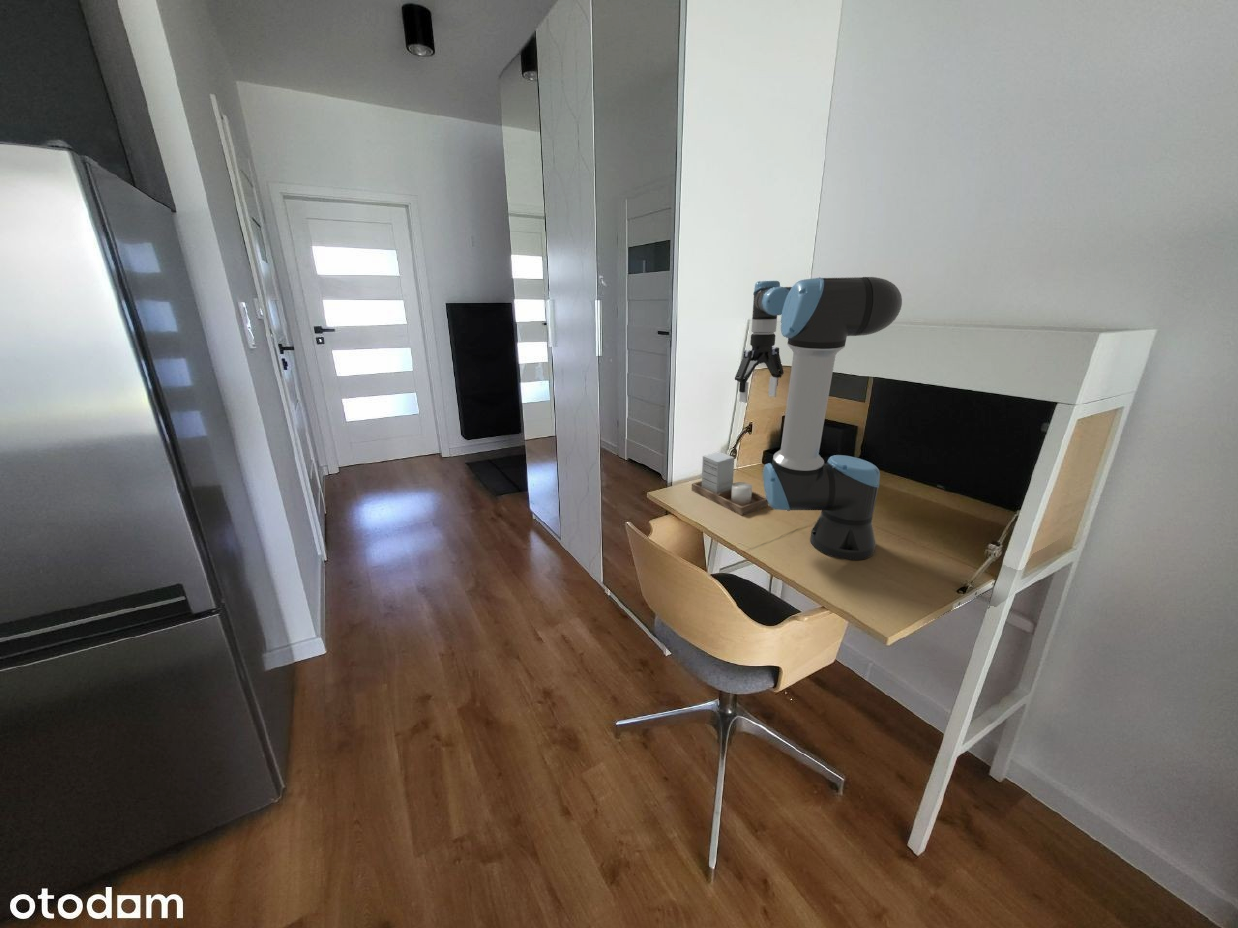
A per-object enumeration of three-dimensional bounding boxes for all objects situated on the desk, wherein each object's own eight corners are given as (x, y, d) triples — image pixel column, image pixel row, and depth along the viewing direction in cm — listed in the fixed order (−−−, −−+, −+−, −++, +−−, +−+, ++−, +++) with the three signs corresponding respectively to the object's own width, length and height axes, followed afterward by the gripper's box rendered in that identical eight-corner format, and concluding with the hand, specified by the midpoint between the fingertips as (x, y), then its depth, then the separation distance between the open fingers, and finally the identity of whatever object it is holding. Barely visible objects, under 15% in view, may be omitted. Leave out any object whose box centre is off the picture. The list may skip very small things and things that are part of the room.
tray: (768, 507, 140) (768, 498, 139) (740, 517, 135) (741, 508, 134) (717, 484, 158) (717, 476, 157) (691, 492, 153) (691, 483, 152)
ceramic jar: (754, 504, 141) (756, 486, 139) (740, 509, 138) (742, 491, 136) (740, 498, 146) (741, 480, 144) (726, 502, 143) (727, 485, 141)
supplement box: (716, 486, 155) (718, 451, 151) (732, 493, 149) (735, 457, 145) (700, 491, 151) (702, 455, 147) (716, 499, 146) (718, 461, 141)
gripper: (780, 330, 154) (774, 392, 161) (725, 335, 142) (722, 402, 149) (799, 331, 148) (792, 396, 155) (743, 336, 136) (739, 406, 143)
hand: (757, 399), depth 152 cm, fingers open, 13 cm apart
